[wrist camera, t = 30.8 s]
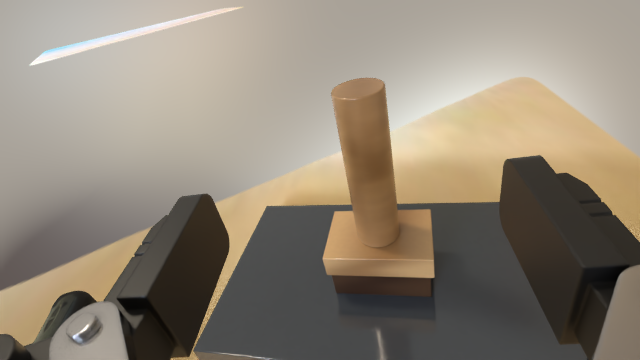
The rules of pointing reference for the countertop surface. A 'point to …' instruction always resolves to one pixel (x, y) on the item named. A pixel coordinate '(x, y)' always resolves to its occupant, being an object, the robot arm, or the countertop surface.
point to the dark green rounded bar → (63, 312)
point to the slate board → (380, 297)
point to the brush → (374, 206)
